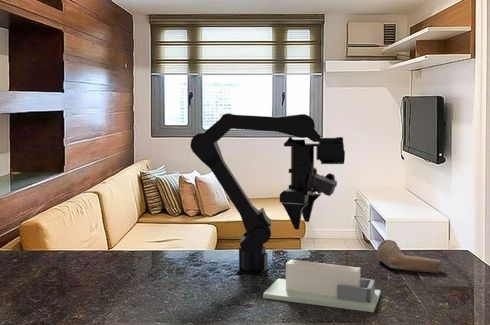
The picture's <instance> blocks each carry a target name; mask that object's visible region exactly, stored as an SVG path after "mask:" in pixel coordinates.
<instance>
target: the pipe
mask: <svg viewBox="0 0 490 325" xmlns="http://www.w3.org/2000/svg"><path fill="white" fill-rule="evenodd" d="M375 252H376V256H377V259H378V261H380V262H381V263H382V264H383V265H385V266H386V267H389V268H390V269H394V270H398V271H406V272H417V271H418V273H426V272H431V273H430V274H439V272H440V270H441V268H442V265H443V261H442V260H439V259H435V258H434V259H433V258H428V257H422V256H414V255H413V256H412V255H405V254H404V253H403V254H402V249H401V248H400V247H399V246H398V243H397V242H396V241H395V240H392V239H386V240H383V241H382V242H381V243H379V245H378V246H377V249H376V251H375Z"/></svg>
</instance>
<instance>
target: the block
mask: <svg viewBox="0 0 490 325" xmlns="http://www.w3.org/2000/svg"><path fill="white" fill-rule="evenodd" d="M360 278H361V267H358V266H357V267H355V266H349V265H348V266H347V265H340V264H333V263H326V262H325V263H323V262H316V261H308V260H300V259H299V260H298V259H290V260H288V261H287V262H286V263H285V279H286V290H293V291H300V292H307V293H314V294H321V295H327V296H334V297H337V285H345V286H353V287H360Z"/></svg>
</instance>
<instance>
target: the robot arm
mask: <svg viewBox="0 0 490 325" xmlns="http://www.w3.org/2000/svg"><path fill="white" fill-rule="evenodd" d="M230 130H243V131H244V130H246V131H262V132H263V131H264V132H277V133H281V134H285V135H288V136H289V137H288V138H287V140H286V141H285V142H283V146H284V147H290V168H288V174H290V184H288V188H286V189H285V190H282V192H281V193H280V194H279V203H280V204H281V205H282V206H283V208H284V211H285V212H286V213H287V216H288V217H289V220H290V222H291V225H292V227H293V229H294V230H299V229H301V228H300V226H301V220H302V217H303V221H304V222H305V223H306V222H307V223H309V222H310V219H311V216H312V211H313V209H314V205H315V202H316V200H317V199H318V198H319V197H321V195H322V194H323V195H325V196H329V197H331V196H332V195H334V192H335V189H336V187H338V180H336V176H335V174H332V173H330V172H329V173H327V174H326V175H325V176H324V175H323V174H322V175H321V174H319V173H318V169H317V167H315V159H316V161H319V162H320V165H344V164H345V159H346V152H345V145H344V137H343V136H336V137H321V134H320V133H318V132H317V131H316V126H315V121H314V120H313V118H312V117H311V116H310V115H308V114H304V113H299V114H291V115H290V114H289V115H283V116H282V115H281V116H269V115H249V114H235V113H231V112H230V113H229V112H227V113H224V114H222V115H221V117H220V118H219V119H218V120H217V121H216V122H215V123H213V124H212V125H211V126H210V127H209V128H207V130H205V131H201V132H198V133H196V134H194V135H193V136H192V138H191V139H190V140H191V141H190V149H191V151H192V153H193V154H194V155H195V156H196V157H197V158H198V159H199V160H200V161H201V162H202V163H203V164H204V165H205V166H207V168H208V169H210V171H211V172H212V174H213V175H214V177H215V178H216V180H217V182H218V183H219V184H220V185H221V187H222V189H223V190H224V192H225V194H226V195H227V197H228V198H229V199H230V201H231V203H232V204H233V206H234V208H235V210H236V211H237V213H238V214H239V215H240V218H241V221H242V224H243V226H244V230H245V232H244V233H243V234H242V236H241V238H240V242H239V246H240V247H238V268H237V270H236V273H238V274H244V275H245V274H247V275H248V274H249V275H255V276H260V275H262V274H263V273H264V272H266V271H267V270H268V269H269V264H268V252H266V251H267V250H266V247H267V246H265V245H264V244H266V243H267V242H268V241H269V240H270V239H271V235H272V218H270V217H269V216H268V215H267V214H266V211H265V209H264V207H261V208H260V209H258V208H256V206H254V205H253V203H252V202H251V200H250V198H249V197H248V196H247V194H246V192H245V191H244V190H243V188H242V186H241V185H240V183H239V182H238V180H237V179H236V177H235V176H234V174H233V172H232V171H231V169H230V168H229V166H228V165H227V163H226V161H225V160H224V157H223V154H222V150H221V148H220V146H219V143H218V142H219V141H220V140H221V139H222V138H223V137H224V136H225V135H227V133H228V132H229V131H230ZM292 136H293V137H296V138H297V137H298V138H302V139H293V137H292ZM305 138H307V139H308V140H310V141H312V142H313V143H306V140H305ZM315 147H316V150H315ZM315 152H316V153H315ZM315 154H316V155H315ZM315 156H316V158H315Z"/></svg>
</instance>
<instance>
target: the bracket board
mask: <svg viewBox="0 0 490 325" xmlns="http://www.w3.org/2000/svg"><path fill="white" fill-rule="evenodd" d="M375 282H376V280H375V279H370V278H362V277H360V287H353V286H345V285H337V297H334V296H327V295H321V294H314V293H307V292H300V291H293V290H286V278H277V279H276V280H275V281H274V282H273V283H272V284H270V286H269V287H268V288H267V289H266V290H265V291H264V292H263V293H262V297H263V299H268V300H276V301H282V302H283V301H284V302H289V303H291V302H292V303H299V304H306V305H316V306H323V307H328V308H329V307H330V308H338V309H345V310H352V311H353V310H354V311H361V312H368V313H369V312H370V313H374V312H375V310H376V308H377V304H378V302H379V300H380V296H381V289H376V288H375V286H376V284H375Z"/></svg>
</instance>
